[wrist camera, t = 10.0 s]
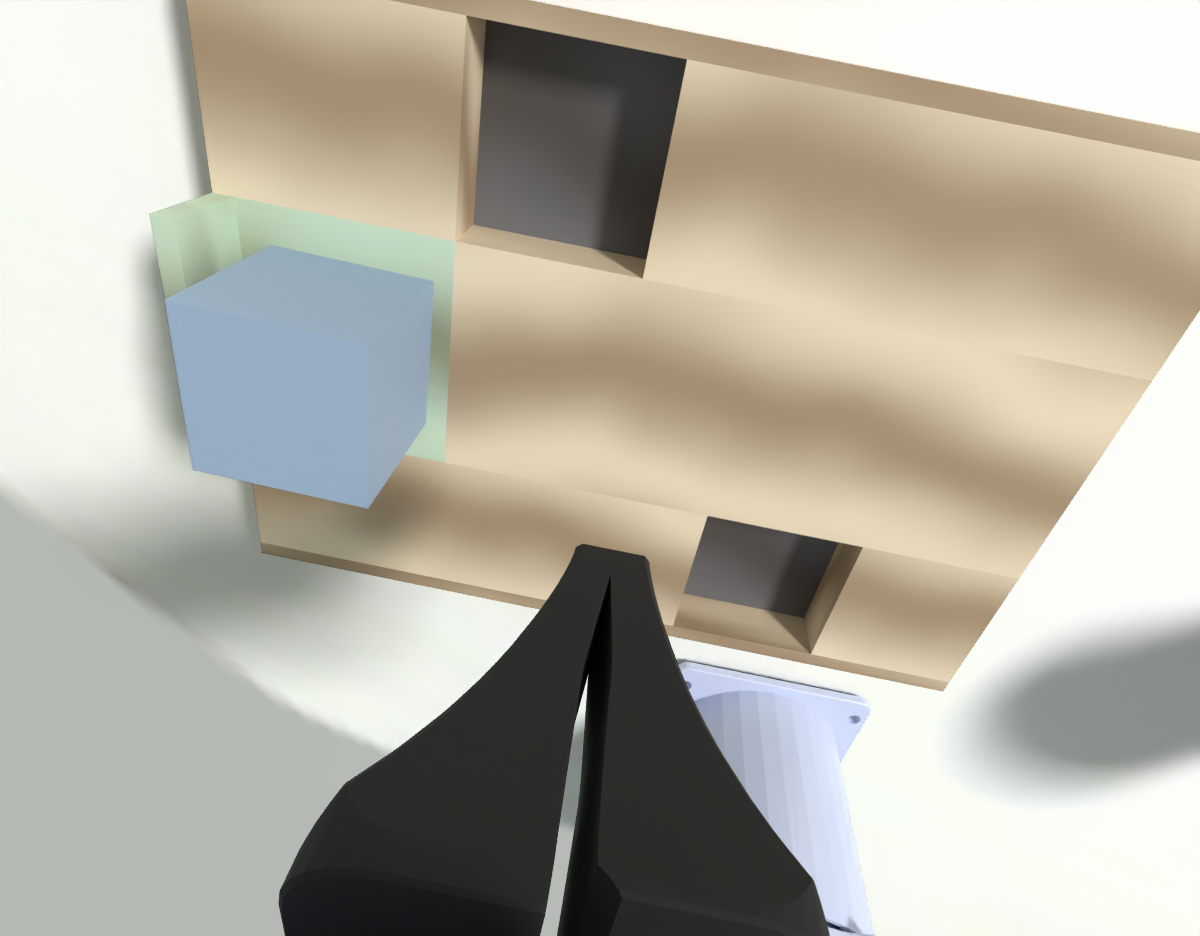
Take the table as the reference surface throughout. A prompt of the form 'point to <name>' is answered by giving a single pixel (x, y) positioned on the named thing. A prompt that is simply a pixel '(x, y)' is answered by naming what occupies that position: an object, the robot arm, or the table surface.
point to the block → (303, 372)
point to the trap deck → (703, 308)
